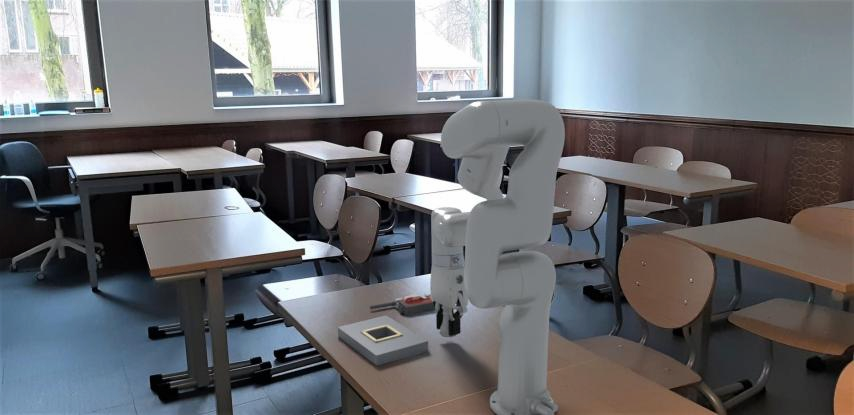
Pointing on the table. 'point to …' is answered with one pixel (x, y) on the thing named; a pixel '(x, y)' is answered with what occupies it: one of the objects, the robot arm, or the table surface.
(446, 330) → the rook chess piece
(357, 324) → the socket board
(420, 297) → the red gray switch box
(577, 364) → the table surface
